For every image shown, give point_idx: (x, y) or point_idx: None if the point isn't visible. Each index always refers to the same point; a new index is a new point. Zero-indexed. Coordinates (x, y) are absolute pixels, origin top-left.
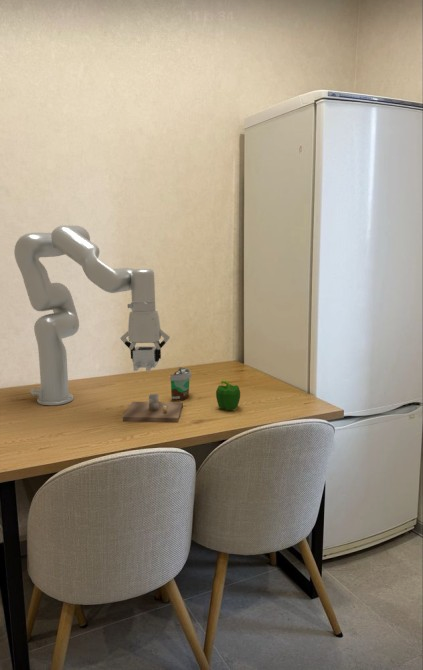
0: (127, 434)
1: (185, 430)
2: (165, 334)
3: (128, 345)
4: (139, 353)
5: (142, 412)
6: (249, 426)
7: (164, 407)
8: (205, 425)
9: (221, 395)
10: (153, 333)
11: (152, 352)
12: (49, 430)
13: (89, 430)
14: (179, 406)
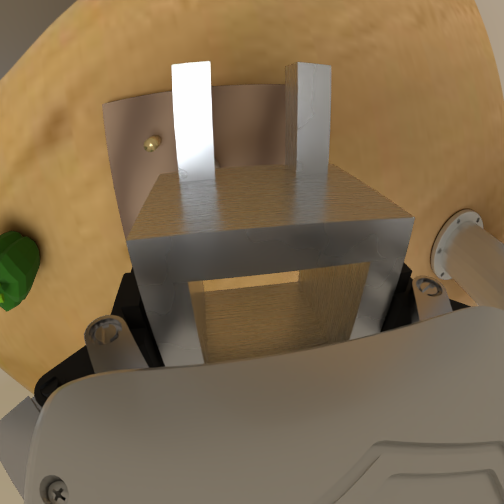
0: None
1: (77, 49)
2: (13, 482)
3: (455, 310)
4: (330, 206)
5: (237, 133)
6: None
7: (151, 137)
8: (34, 105)
9: (6, 250)
10: None
11: (154, 227)
12: (445, 46)
13: (366, 24)
14: (126, 214)
